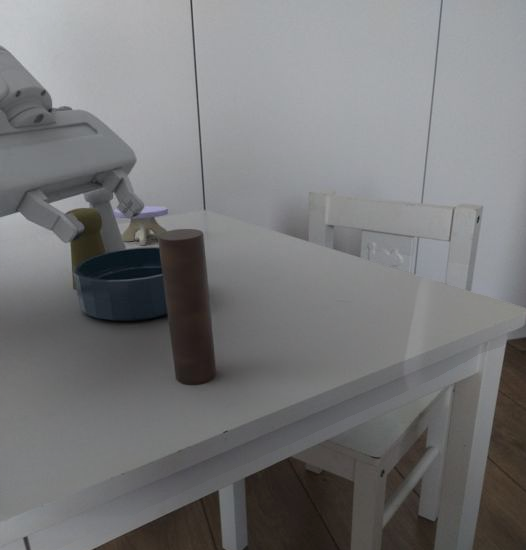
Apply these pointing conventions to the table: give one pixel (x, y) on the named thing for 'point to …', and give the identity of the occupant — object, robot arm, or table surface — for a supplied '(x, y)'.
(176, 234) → the brown wooden cylinder
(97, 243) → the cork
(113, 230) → the salt shaker
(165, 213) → the toy table
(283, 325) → the table surface
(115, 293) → the bowl
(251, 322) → the table surface
